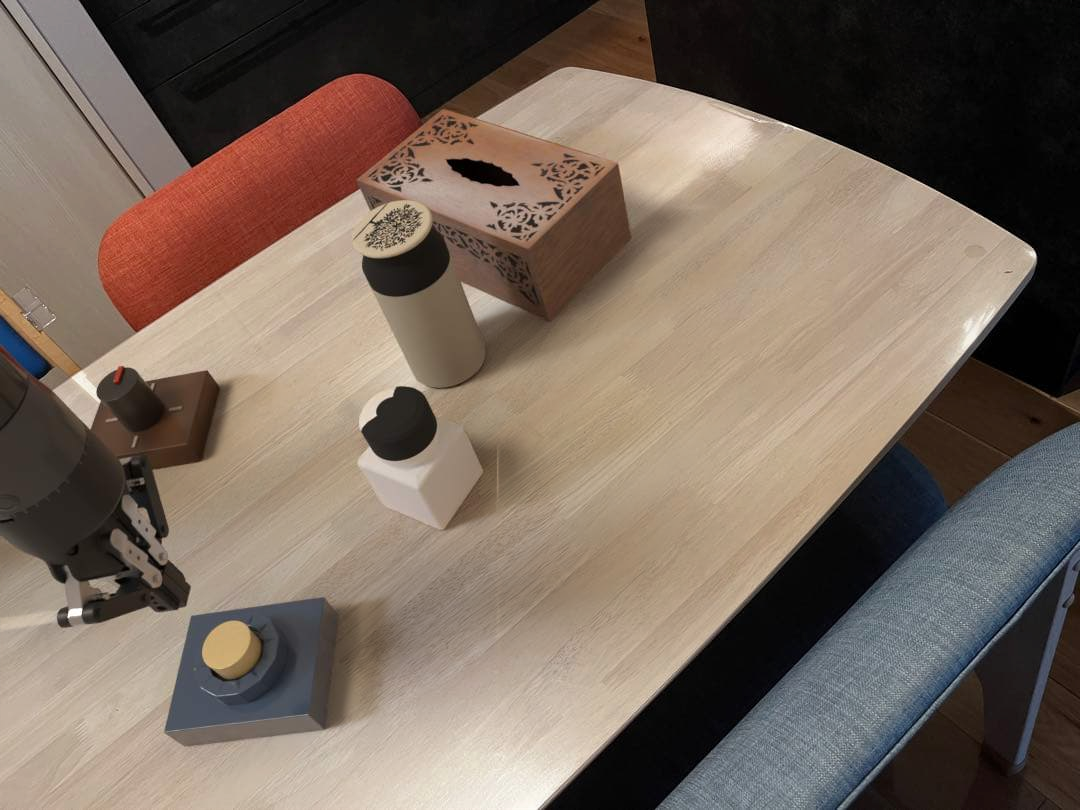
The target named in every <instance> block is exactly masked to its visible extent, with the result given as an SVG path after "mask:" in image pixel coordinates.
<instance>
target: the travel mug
mask: <svg viewBox="0 0 1080 810" xmlns="http://www.w3.org/2000/svg"><path fill="white" fill-rule="evenodd" d="M432 222H433V218H432V214H431V212H430V210H429V209H428V208H427V207H426V206H425V205H423V204H422V203H419V202H416V201H411V200H400V201H394V202H390V203H386V204H384V205H381V206H379V207H377V208H375V209H373V210H372V211H370V210H369V212H368V213H366V214H364V215H363V217H362V218H361V219H360V220H359V221H358V222H357V223H356V225H355V226H354V228H353V230H352V234H351V242H352V245H353V248H354V249H355V251H356V252H357V253H359V254H360V255H362V260H361V269H362V273H363V274H364V276H365V278H366V279H365V280H366V281H367V282H368V284H369V287H370V289H371V290H372V293H373V295H374V297H375V299H376V301H377V303H378V305H379V307H380V309H381V311H382V314H383V315H384V317H385V320H386V322H387V324H388V326H389V327H390V329H391V332H392V333H393V336H394V338H395V340H396V342H397V344H398V346H399V348H400V350H401V352H402V354H403V356H404V358H405V360H406V363H407V365H408V367H409V368H410V370H411V372H412V374H413V377H414V378H415V380H416V381H418V382H419V383H420V384H422V385H424V386H425V387H430V388H435V389H441V388H442V389H443V388H449V387H454V386H456V385H459V384H462V383H463V382H465V381H467V380H469V379H470V378H471V377H473V376H474V375H475V374H476V373H477V372H478V371H479V370H480V368H481V367H482V365H483V363H484V362H485V359H486V355H487V353H486V352H487V348H486V344H485V341H484V339H483V336H482V333H481V331H480V329H479V326H478V323H477V320H476V317H475V316H474V313H473V310H472V307H471V305H470V302H469V300H468V297H467V295H466V292H465V290H464V287H463V284H462V282H461V281H460V279H459V276H458V274H457V271H456V269H455V266H454V263H453V261H452V258H451V256H450V253H449V250H448V248H447V245H446V243H445V240H444V238H443V236H442V234H441V233H440V232H439V231H437V230H436V229H434V228H433V227H432Z"/></svg>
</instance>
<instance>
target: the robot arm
mask: <svg viewBox="0 0 1080 810" xmlns="http://www.w3.org/2000/svg"><path fill="white" fill-rule="evenodd" d="M90 429H91V428H89V426H87V424H85V422H84V421H83V420H82V419H81V418H79V416H78V415H77V414H76V413H75V412H73V410H72V409H71V408H70V407H69V406H68V405H67V404H66V403H65V401H64V400H62V399H61V397H59V395H58V394H56V393H55V392H54V391H53V390H52V389H51V388H49V387H48V386H47V385H46V384H45V383H43V382H42V381H40V380H39V379H38V378H36V377H35V376H34V375H32V373H30V372H29V371H28V370H27V369H26V368H25V367H23V366H22V364H20V362H18V361H17V359H15V358H14V356H12V355H11V353H9V351H8V350H7V349H5V347H3V346H2V344H1V343H0V536H1V537H2V538H3V539H4V540H6V541H7V542H8V543H9V544H11V545H12V546H13V547H14V548H16V549H18V550H19V551H21V552H23V553H25V554H28V555H30V556H33V557H34V558H37V559H39V560H41V561H43V563H45V565H46V567H47V568H48V569H49V573H50V575H51V576H52V578H53V579H54V580H55V581H56V582H57V583H60V584H62V585H64V587H65V594H66V602H67V606H64V607H61V608H60V609H59V610H58V611H57V613H56V620H57V621H56V622H57V624H58V626H59V627H60V628H62V629H67V628H72V627H73V628H74V627H80V626H81V627H82V626H88V625H93V624H94V625H95V624H101V623H104V622H107V621H110V620H113V619H116V618H119V617H122V616H125V615H128V614H130V613H133V612H136V611H140V610H142V609H145V608H147V607H149V608H150V609H151V610H152V611H153V612H155V613H167V612H173V611H179V609H182V608H186V607H187V605H188V602H189V601H188V600H189V596H190V592H191V588H192V586H191V584H190V583H189V582H187V580H186V576H185V575H184V572H182V571H181V570H180V569H179V568H178V567H177V566H176V565H174V563H173V562H172V561H171V560H170V559H169V555H168V551H167V549H166V548H165V547H164V546H163V539H165V538H167V537H168V536H169V533H170V527H169V524H168V520H167V517H166V512H165V509H164V506H163V502H162V499H161V496H160V493H159V489H158V485H157V482H156V478H155V474H154V471H153V469H152V468H151V464H150V461H149V458H148V457H147V456H146V455H139V456H134V457H128V458H122V459H118V458H117V457H116V456H115V455H114V454H113V453H112V452H111V451H110V450H109V449H108V447H107V446H106V445H105V444H104V443H103V442H102V441H101V440H100V439H99V438H98V437H97V436H96V435H95V434H94V433H93V432H92V431H91V430H90ZM139 509H145V510H146V512H147V516H148V519H149V520H148V519H147V518H146V517H145V515H143V513H142V512H141V511H140V510H139ZM94 580H97V581H101V582H107V583H109V584H110V585H112V586H113V587H115V588H117V590H116V591H115V592H112V593H109V592H102V591H101V589H100V588H98V587H93V586H91V584H90V581H94Z"/></svg>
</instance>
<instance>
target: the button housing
mask: <svg viewBox="0 0 1080 810" xmlns="http://www.w3.org/2000/svg"><path fill="white" fill-rule="evenodd" d="M228 621H240V622H243V623H244V624H246V625H247V626H248V627H249V628H250V629H251V630H252V631H253V632H254V633H255V634H256V635H257V636H258V637H259V639H260V640H261V644H262V652H261V656H260V659H259V661H258V662H257V664H256V665H255V667H254V668H253V669H252V670H251V671H250V672H248V673H247V674H246V675H244V676H242V677H240V678H236V679H225V678H223V677H221V676H219V675H218V674H217V673H216V672H215V671H213V670H212V669H211V668H210V667H209V666H208V665H207V664H206V663H205V662H204V660H203V657H202V648H203V644H204V642H205V640H206V638H207V636H208V635H209V634H210V633H211V631H212V630H214V629H215V628H216V627H217V626H219V625H220V624H222V623H225V622H228ZM338 622H339V613H338V612H337V610H336V609H335V608H334V607H333V606H332V604H331V603H330V602H329V601H328V600H327V599H326V597H325V596H321V597H314V598H307V599H300V600H292V601H286V602H278V603H273V604H263V605H257V606H250V607H243V608H235V609H230V610H222V611H221V610H220V611H216V612H208V613H201V614H200V613H199V614H195V615H191V616H190V619H189V622H188V627H187V631H186V636H185V641H184V644H183V648H182V653H181V657H180V661H179V665H178V670H177V674H176V679H175V684H174V687H173V691H172V692H173V693H172V696H171V701H170V705H169V710H168V713H167V719H166V722H165V727H164V731H163V733H164V734H165V735H166V736H168V737H169V738H171V739H172V740H175V742H177V743H178V744H180V745H181V746H183V747H192V746H193V747H194V746H201V745H210V744H219V743H226V742H234V741H242V740H251V739H260V738H268V737H276V736H285V735H294V734H300V733H301V734H303V733H309V732H317V731H318V732H319V731H325V730H326V723H327V714H328V707H329V697H330V688H331V680H332V674H333V673H332V672H333V664H334V656H335V646H336V638H337V630H338Z"/></svg>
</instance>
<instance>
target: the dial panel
mask: <svg viewBox="0 0 1080 810" xmlns="http://www.w3.org/2000/svg"><path fill="white" fill-rule="evenodd" d="M144 381H145V380H144ZM145 382H146V383H147V384H148V385H149V387H150V388H151V389H152V390H153V391H154V393H155V394H156V395H157V396H158V397H159V399H160V400H161V401H162V402H163V405H164V410H163V413H162V415H161V417H160V418H159V419H158V420H157V422H155V423H154V424H153V425H152V426H150V427H148V428H146V429H144V430H141V431H130V430H128V429H126V428H125V427H124V425H123V424H122V423H121V422H120V421H119V420H118V419H117V418H116V417H115V416H114V415H113V413H112V412H111V411H110V410H109V409H108V408H107V407H106V406H105V405H104V404H103V403H102V401H101V400H100V401H99V403H98V404H99V405H98V408H97V410H96V413H95V415H94V419H93V421H92V424H91V427H90V428H89V429H90V430H91V431H92V432H93V433H94V434H95V435H96V436H97V437H98V438H99V439H100V440H101V441H102V442H103V443H104V444H105V445H106V446H107V447H108V449H109V450H110V451H111V452H112V453H113V454H114V455H115V456H116V457H117V458H118V459H122V458H128V457H134V456H139V455H146V456H147V457H148V458H149V461H150V464H151V468H152V470H156V469H157V470H158V469H163V468H169V467H176V466H181V465H187V464H194V463H199V462H200V463H201V462H202V461H203V458H204V454H205V451H206V446H207V442H208V439H209V435H210V430H211V427H212V423H213V419H214V415H215V410H216V407H217V403H218V399H219V395H220V391H221V386H220V385H219V384H218V383H217V381H216V380H215V378H214V377H213V376H212V374H211V373H210V372H209V370H208V369H205V370H200V371H195V372H188V373H183V374H177V375H173V376H167V377H162V378H156V379H150V380H146V381H145Z"/></svg>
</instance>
